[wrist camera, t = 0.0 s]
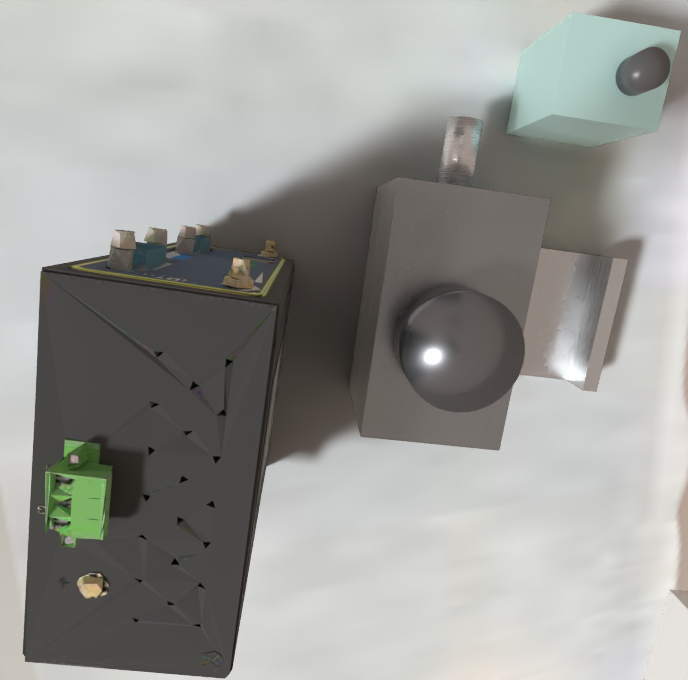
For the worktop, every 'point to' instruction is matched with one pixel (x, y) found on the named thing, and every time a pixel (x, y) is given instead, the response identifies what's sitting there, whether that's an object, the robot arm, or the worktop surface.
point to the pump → (593, 81)
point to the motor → (470, 305)
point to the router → (151, 451)
